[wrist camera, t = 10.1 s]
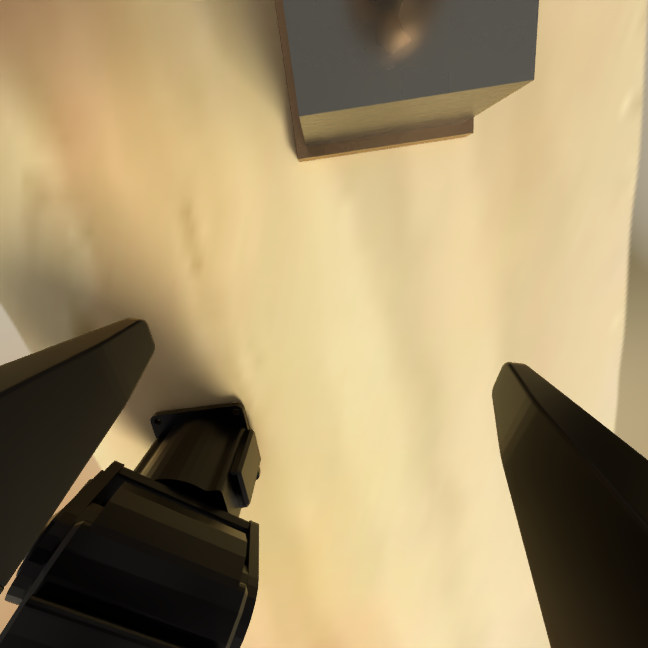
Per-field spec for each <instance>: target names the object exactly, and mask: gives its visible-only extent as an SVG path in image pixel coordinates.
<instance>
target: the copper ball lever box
mask: <svg viewBox="0 0 648 648" xmlns="http://www.w3.org/2000/svg"><path fill="white" fill-rule="evenodd" d="M275 4H276V11H277V18H278V25H279V31H280V38H281V45H282V52H283V59H284V65H285V72H286V79H287V86H288V93H289V99H290V106H291V113H292V120H293V127H294V134H295V140H296V147H297V154H298V160H299V162H302V161H309V160H316V159H322V158H329V157H336V156H342V155H349V154H355V153H362V152H369V151H375V150H382V149H388V148H395V147H402V146H408V145H415V144H422V143H428V142H435V141H441V140H448V139H455V138H461V137H466V136H468V135H470V134H472V133H473V117H474V116H476V115H477V114H479V113H481V112H482V111H484V110H486V109H487V108H489V107H490V106H492V105H494V104H495V103H497V102H499V101H500V100H502V99H504V98H505V97H507V96H508V95H510V94H512V93H513V92H515V91H517V90H518V89H520V88H521V87H523V86H525V85H526V84H528V83H530V82H531V81H533V80H534V72H535V55H536V39H537V23H538V7H539V0H377V1H373V0H275Z"/></svg>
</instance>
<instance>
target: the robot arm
mask: <svg viewBox="0 0 648 648" xmlns="http://www.w3.org/2000/svg"><path fill="white" fill-rule="evenodd" d="M154 349H155V344H154V341H153V338H152V335H151V332H150V330H149V327H148V324H147V323H146V321H145V320H142V319H135V318H127V319H124V320H121V321H119V322H116V323H113V324H111V325H108V326H105V327H103V328H100V329H97V330H95V331H92V332H89V333H87V334H84V335H81V336H79V337H76V338H73V339H71V340H68V341H65V342H63V343H60V344H57V345H55V346H52V347H49V348H46V349H44V350H41V351H38V352H36V353H33V354H30V355H28V356H25V357H22V358H20V359H17V360H15V361H12V362H9V363H6V364H4V365H1V366H0V594H1V592H2V591H3V589H4V586H6V584H7V583H8V581H9V580H10V578H11V577H12V575H13V574H14V572H15V571H16V569H17V568H18V566H19V565H20V563H21V562H22V560H23V563H22V565H21V566H20V568H19V570H18V572H17V575H16V576H17V577H16V578H15V580H14V582H13V583H12V585H11V587H10V589H9V590H8V592H7V595H6V598H5V600H6V601H8V602H11V603H14V604H16V605H19V606H18V608H17V610H16V611H15V613H14V614H13V616H12V617H11V619H10V620H9V622H8V624H7V625H6V627H5V628H4V630H3V631H2V633H1V634H0V648H240V646H241V644H242V642H243V640H244V637H245V634H246V632H247V629H248V626H249V623H250V620H251V617H252V613H253V610H254V605H255V601H256V596H257V590H258V580H259V524H258V523H255V522H253V521H251V520H250V521H249V522H248V521H246V520H244V519H241V518H239V514H240V511H241V508H243V507H247V506H248V505H249V504H250V502H251V498H252V493H253V489H254V485H255V481H256V480H257V479H258V478H259V476H260V468H259V465H260V461H261V457H260V453H259V449H258V445H257V441H256V437H255V433H254V431H253V430H252V429H250V428H249V424H248V420H247V416H246V412H245V408H244V406H243V405H242V404H241V403H228V404H220V405H212V406H204V407H196V408H188V409H180V410H172V411H164V412H157V413H155V414H154V415H153V416H152V418H151V420H150V421H151V425H152V427H153V430H154V433H155V436H156V438H157V439H156V441H155V442H154V443H153V445H152V446H151V447H150V449H149V450H148V452H147V453H146V454H145V456H144V457H143V459H142V460H141V461H140V463H139V464H138V466H137V467H136V468H135V470H134V471H132V470H130V469H128V468H125V467H124V464H122V463H119V462H117V461H114V462H113V463H112V464H111V465H110V466H109V467H108V468H107V469H106V470H105V471H103V470H101V471H100V472H99V473H98V474H97V475H96V476H95V477H94V478H93V479H90V480H89V481H88V482H87V484H85V486H84V487H83V488H82V489H81V490H80V491H79V493H78V494H77V495H76V496H75V497H74V498H73V499H72V500H71V501H70V502H69V503H68V504H67V505H66V506H65V507H64V508H63V509H62V510H60V511H59V512H58V513H56V514H55V515H53V514H54V512H55V511H56V509H57V508H58V506H59V505H60V503H61V502H62V500H63V499H64V497H65V496H66V494H67V493H68V491H69V490H70V488H71V486H72V485H73V483H74V482H75V480H76V479H77V477H78V476H79V474H80V473H81V471H82V470H83V468H84V467H85V465H86V464H87V462H88V461H89V459H90V458H91V456H92V455H93V453H94V452H95V450H96V449H97V447H98V446H99V444H100V443H101V441H102V440H103V438H104V437H105V435H106V434H107V432H108V431H109V429H110V428H111V426H112V425H113V423H114V422H115V420H116V419H117V417H118V416H119V414H120V413H121V411H122V410H123V408H124V406H125V405H126V403H127V402H128V400H129V398H130V396H131V395H132V393H133V391H134V389H135V387H136V385H137V383H138V381H139V380H140V378H141V376H142V374H143V372H144V370H145V368H146V366H147V364H148V362H149V361H150V359H151V357H152V355H153V353H154ZM492 399H493V406H494V413H495V420H496V427H497V435H498V442H499V449H500V455H501V459H502V464H503V468H504V472H505V475H506V479H507V483H508V487H509V491H510V494H511V498H512V502H513V506H514V510H515V513H516V517H517V521H518V525H519V529H520V532H521V536H522V540H523V544H524V548H525V551H526V555H527V559H528V563H529V566H530V570H531V574H532V578H533V582H534V585H535V589H536V593H537V597H538V601H539V604H540V608H541V612H542V616H543V620H544V623H545V627H546V631H547V635H548V639H549V642H550V646H551V648H648V460H647V459H646V458H644V457H643V456H642V455H641V454H639V453H638V452H637V451H636V450H634V449H633V448H632V447H630V446H629V445H628V444H627V443H625V442H624V441H623V440H622V439H620V438H619V437H618V436H616V435H615V434H614V433H613V432H611V431H610V430H609V429H608V428H606V427H605V426H604V425H602V424H601V423H600V422H599V421H597V420H596V419H595V418H594V417H592V416H591V415H590V414H588V413H587V412H586V411H585V410H583V409H582V408H581V407H580V406H578V405H577V404H576V403H574V402H573V401H572V400H571V399H569V398H568V397H567V396H566V395H564V394H563V393H562V392H560V391H559V390H558V389H557V388H555V387H554V386H553V385H551V384H550V383H549V382H548V381H546V380H545V379H544V378H543V377H541V376H540V375H539V374H537V373H536V372H535V371H534V370H532V369H531V368H530V367H529V366H527V365H525V364H521V363H512V362H507V363H505V364H504V365H503V366H502V368H501V371H500V373H499V375H498V377H497V380H496V382H495V384H494V386H493V390H492ZM234 409H238V410H239V412H236V411H235V410H234ZM157 419H160V420H161V421H158V420H157ZM52 515H53V516H52Z"/></svg>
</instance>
